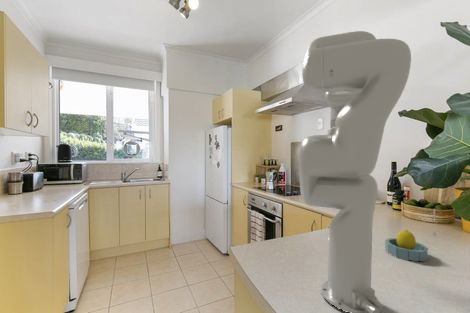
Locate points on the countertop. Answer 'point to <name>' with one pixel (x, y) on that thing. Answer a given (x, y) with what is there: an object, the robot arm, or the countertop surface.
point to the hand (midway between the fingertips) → (340, 172)
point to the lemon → (406, 240)
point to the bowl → (406, 251)
